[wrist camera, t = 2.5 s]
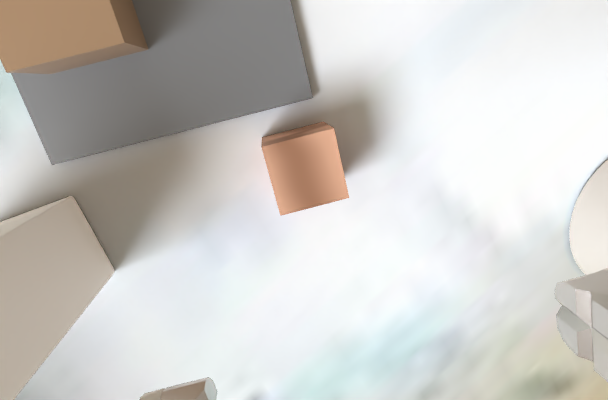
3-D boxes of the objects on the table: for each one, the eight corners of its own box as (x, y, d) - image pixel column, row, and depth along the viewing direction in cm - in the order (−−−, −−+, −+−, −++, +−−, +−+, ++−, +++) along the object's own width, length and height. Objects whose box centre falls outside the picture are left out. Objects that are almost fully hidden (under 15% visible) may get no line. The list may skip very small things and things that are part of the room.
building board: (259, -131, 26) (257, -187, 21) (311, 97, 31) (322, 101, 25) (-40, -58, 26) (-123, -96, 20) (57, 162, 30) (10, 180, 25)
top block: (323, 121, 31) (334, 128, 27) (336, 181, 33) (349, 197, 28) (262, 137, 31) (261, 147, 27) (278, 196, 33) (280, 215, 28)
